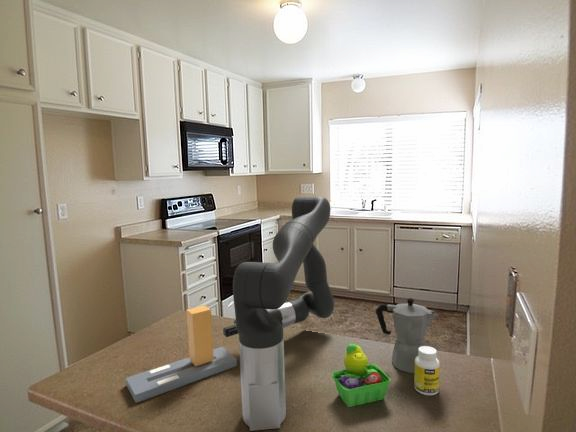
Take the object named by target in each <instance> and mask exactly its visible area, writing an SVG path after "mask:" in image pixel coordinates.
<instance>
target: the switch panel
mask: <svg viewBox="0 0 576 432" xmlns="http://www.w3.org/2000/svg"><path fill="white" fill-rule="evenodd" d="M213 358H214V360H213V361H210V362H207V363H204V364H201V365H199V366H195V365H194V364H193V363H192V362H191V361H190V356H189V357H186V358H183V359H179V360H176V361H174V362H170V363H168V364H164V365H161V366H159V367H158V366H157V367H154V368H152V369H149V370H146V371H143V372H140V373H136V374H133V375H130V376H128V377H125V382H126V383H125V385H126V387H127V389H128V391H129V393H130V395H131V397H132V399H133V401H134V402H135V404H137V403H140V402H143V401H145V400H148V399H151V398H154V397H156V396H159V395H162V394H164V393H165V394H166V393H167V392H170V391H172V390H175V389H178V388H180V387H184V386H187V385H189V384H191V383H194V382H198V381H199V380H202V379H206V378H208V377H210V376H213V375H216V374H219V373H222V372H224V371H227V370H230V369H232V368H236V367H237V366H238V359H237V358H236V357H235V356H234V355H233V354H231V353H230V352H229V351H228V350H227V349H225V348H224V347H223V346H220V347H216V348H213Z"/></svg>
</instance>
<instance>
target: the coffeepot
mask: <svg viewBox="0 0 576 432" xmlns="http://www.w3.org/2000/svg"><path fill="white" fill-rule="evenodd" d="M406 301H407V303H397V304H396V305H395V304H386V303H385V304H384V303H381V304H379V306H378V307H377V308H376V309H375V314H376V316H377V319H378V322H379V325H380V328H381V331H382V333H383V334H384V335H391V334H392V331H390V330H388V329H387V324H386V322H385V316H384V313H383V312H387V313H390V314H392V319H393V324H394V332H395V334H396V338H395V341H394V345H393V346H394V347H393V350H392V355H391V363H392V365H393V366H394V367H395V368H396V369H398V370H399V371H401V372H405V373H410V374H415V358H416V357H417V356H418V349H419V347H421V346H426V344H425V343H426V342H425V341H424V337H425V336H426V334H427V329H428V326H429V325H430V324H431V322H432V321H433V319H434V318H436V317H438V316H439V315H438V312H436V311H434V310H431V309H428V308H427V307H426V306H424V305H419V304H416V303H414V298H412V297H408V298H406Z"/></svg>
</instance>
